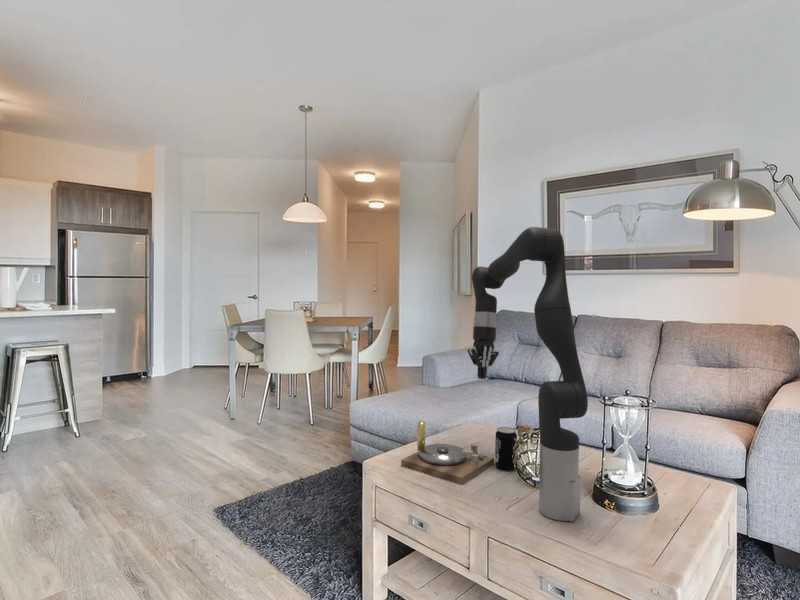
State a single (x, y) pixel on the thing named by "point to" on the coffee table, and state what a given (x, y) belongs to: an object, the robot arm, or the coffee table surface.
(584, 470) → the coffee table surface
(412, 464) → the turntable
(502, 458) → the beverage can
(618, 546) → the coffee table surface
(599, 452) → the coffee table surface
